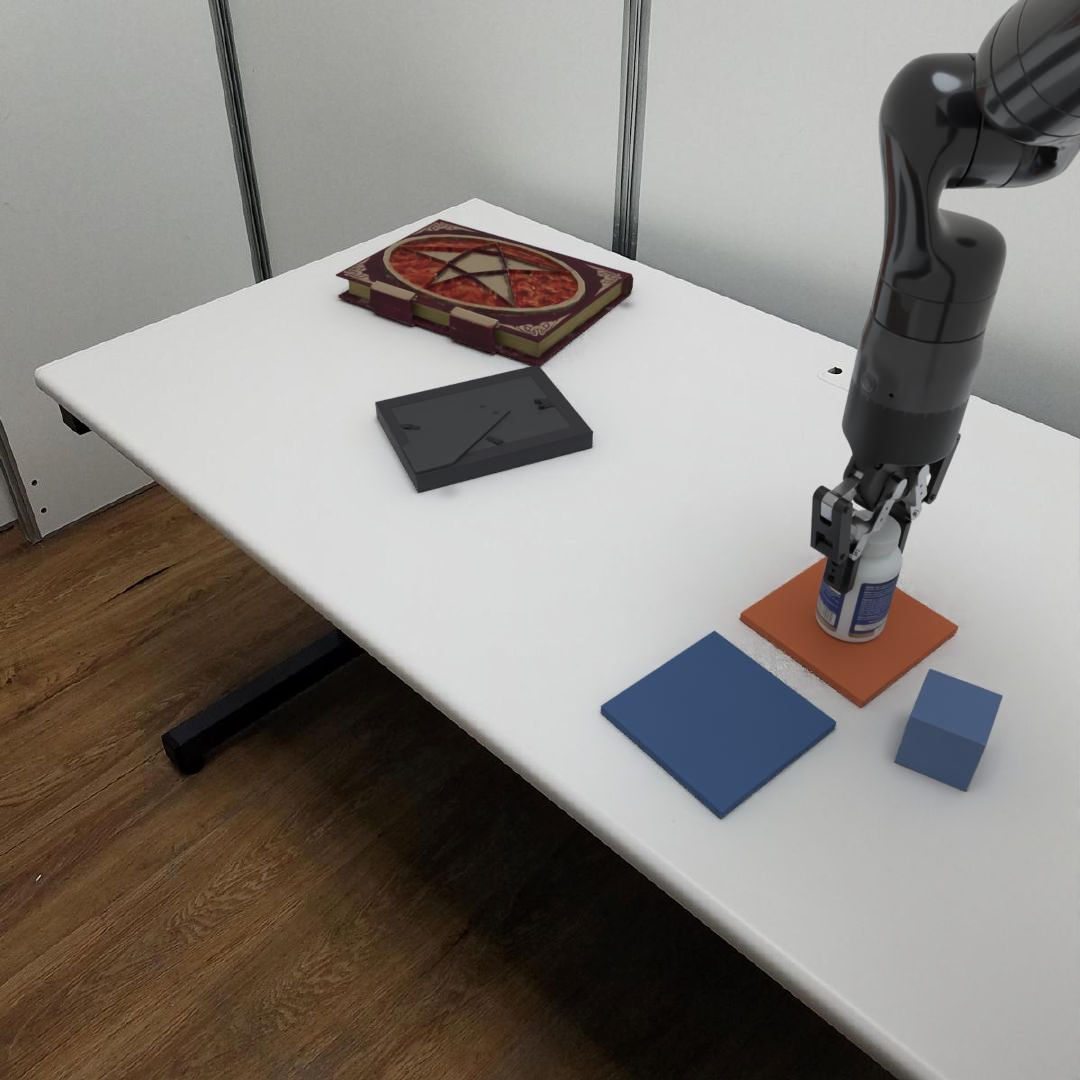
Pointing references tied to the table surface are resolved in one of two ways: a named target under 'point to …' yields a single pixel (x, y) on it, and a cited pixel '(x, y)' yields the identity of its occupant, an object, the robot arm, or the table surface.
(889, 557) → the pill bottle
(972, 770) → the blue block
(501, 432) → the picture frame
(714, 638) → the blue mat
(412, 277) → the book
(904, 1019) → the table surface
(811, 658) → the terracotta mat
